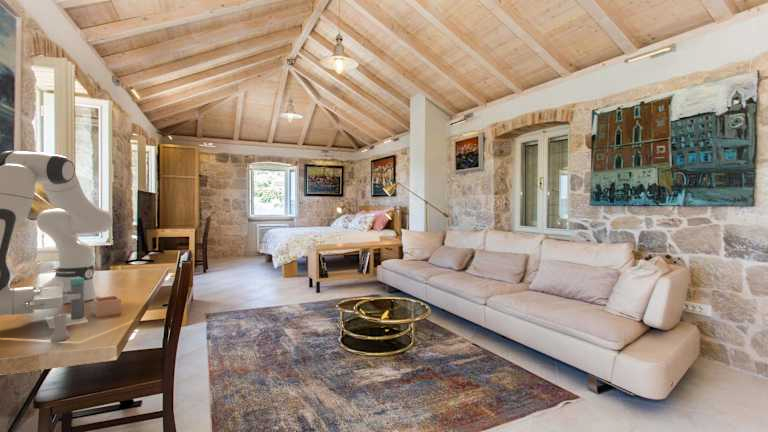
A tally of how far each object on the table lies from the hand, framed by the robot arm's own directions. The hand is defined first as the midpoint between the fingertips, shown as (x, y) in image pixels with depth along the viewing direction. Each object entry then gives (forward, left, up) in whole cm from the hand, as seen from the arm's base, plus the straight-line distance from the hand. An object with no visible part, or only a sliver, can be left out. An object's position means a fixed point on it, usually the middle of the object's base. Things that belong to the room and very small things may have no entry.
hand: (80, 294), depth 133 cm
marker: (-1, -1, -8) cm, 8 cm away
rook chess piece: (+12, -19, -9) cm, 24 cm away
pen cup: (+4, +6, -9) cm, 12 cm away
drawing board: (-3, -3, -9) cm, 10 cm away
